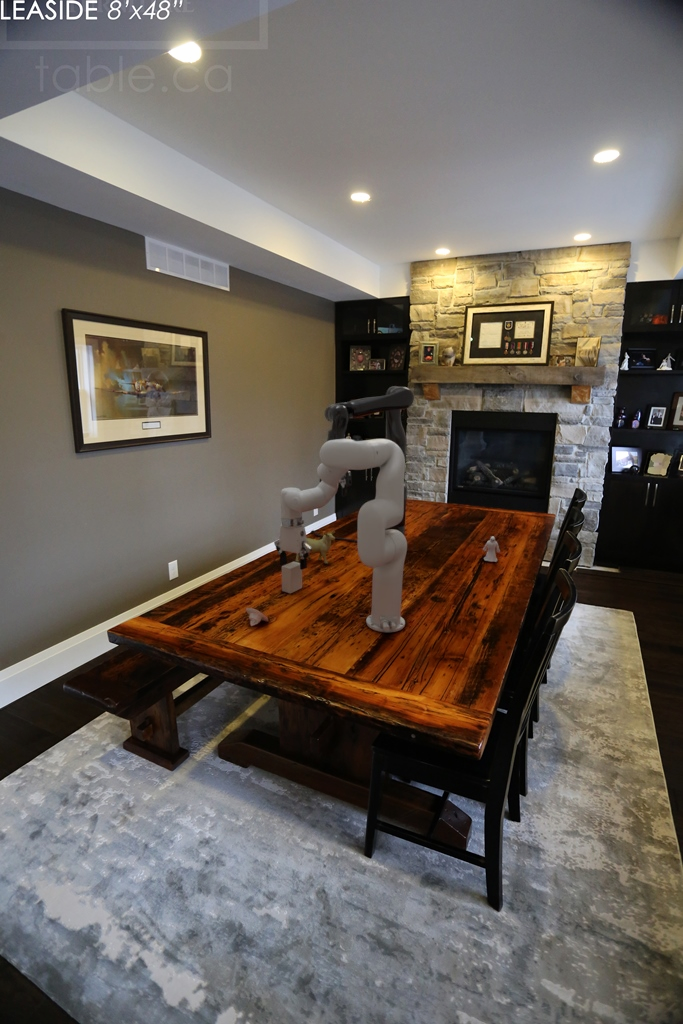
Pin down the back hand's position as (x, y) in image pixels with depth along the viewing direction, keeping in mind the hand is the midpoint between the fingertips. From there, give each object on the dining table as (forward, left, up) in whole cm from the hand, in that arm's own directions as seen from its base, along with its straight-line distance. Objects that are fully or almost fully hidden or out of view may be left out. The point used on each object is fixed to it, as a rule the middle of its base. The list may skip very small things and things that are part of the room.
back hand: (335, 495), depth 204 cm
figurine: (+25, +67, -32) cm, 78 cm away
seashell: (+33, -47, -32) cm, 66 cm away
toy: (-9, -4, -32) cm, 33 cm away
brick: (+13, -25, -32) cm, 43 cm away
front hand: (+13, -25, -22) cm, 36 cm away
